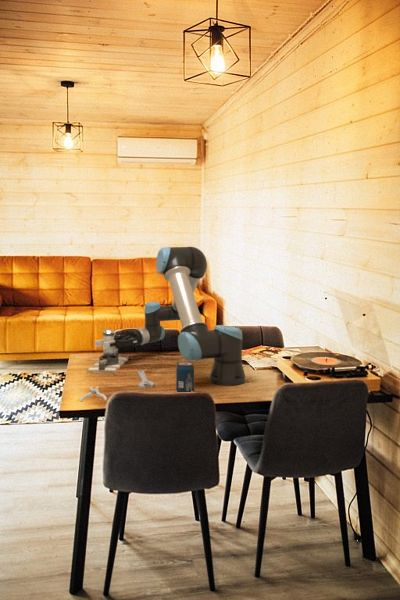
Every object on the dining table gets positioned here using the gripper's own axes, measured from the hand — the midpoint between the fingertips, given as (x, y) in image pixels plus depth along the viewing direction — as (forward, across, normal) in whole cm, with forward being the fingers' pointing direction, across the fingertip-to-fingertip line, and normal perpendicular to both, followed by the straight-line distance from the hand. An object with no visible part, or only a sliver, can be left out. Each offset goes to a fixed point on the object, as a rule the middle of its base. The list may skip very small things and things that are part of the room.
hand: (99, 344), depth 260 cm
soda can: (+1, -54, -11) cm, 55 cm away
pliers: (+27, -30, -11) cm, 42 cm away
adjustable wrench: (0, -29, -11) cm, 31 cm away
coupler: (-5, 0, -8) cm, 10 cm away
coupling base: (-5, 0, -10) cm, 12 cm away
